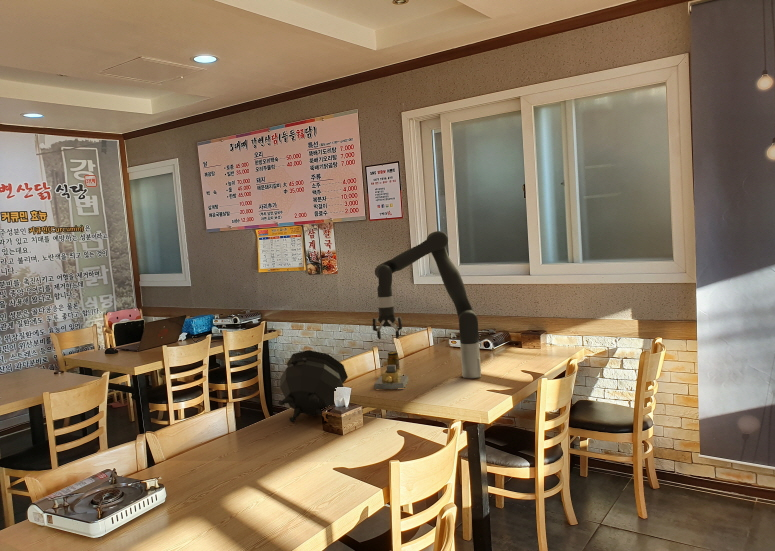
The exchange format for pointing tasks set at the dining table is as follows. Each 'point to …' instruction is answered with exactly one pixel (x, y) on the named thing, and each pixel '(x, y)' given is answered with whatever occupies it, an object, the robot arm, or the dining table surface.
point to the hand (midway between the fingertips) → (388, 338)
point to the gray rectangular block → (391, 368)
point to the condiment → (393, 360)
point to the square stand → (391, 380)
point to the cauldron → (311, 382)
